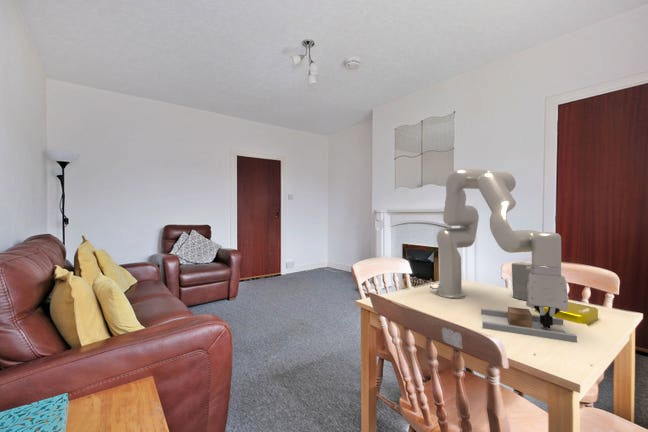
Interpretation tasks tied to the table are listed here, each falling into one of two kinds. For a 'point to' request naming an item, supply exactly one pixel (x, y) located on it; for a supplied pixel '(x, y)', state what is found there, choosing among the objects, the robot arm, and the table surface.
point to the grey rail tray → (500, 323)
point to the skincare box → (520, 280)
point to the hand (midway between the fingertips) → (546, 326)
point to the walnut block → (519, 317)
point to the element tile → (577, 313)
